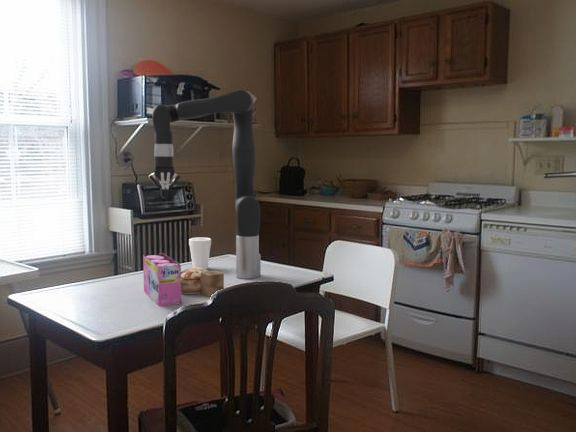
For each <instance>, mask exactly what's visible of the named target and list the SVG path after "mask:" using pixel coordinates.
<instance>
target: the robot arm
mask: <svg viewBox="0 0 576 432" xmlns="http://www.w3.org/2000/svg"><path fill="white" fill-rule="evenodd" d="M253 109H254V99H253V97H252V95H251V94H250V93H249V92H248V91H247V90H245V89H236V90H233V91H231V92H229V93H226V94H221V95H217V96H213V97H208V98H199V99H190V100H185V101H181V102H178V103H175V104H169V105H167V104H161V103H159V104H156V105H155V107H153V109H152V114H151V115H152V119H151V120H152V125H153V129H154V150H153V154H154V155H153V157H154V159H153V160H154V169H153V173H151V174H149V175H148V179H149V181H151V182H152V183H153V185H154V186H155V187H156V188H157V189H160V197H161V199H165V200H167V199H168V198H169V190H170V189H172V188H174V186H175V185H176V183H177V182H178V181H179V180H180V178H181V175H179V174H177V173H176V170H175V168H174V165H175V164H174V144H173V142H174V141H173V140H174V139H173V131H172V130H171V123H174V122H175V123H176V122H178V121H181V120H182V121H184V120H191V119H197V118H201V117H205V116H209V115H213V114H218V113H220V114H221V113H232V117H233V126H234V127H233V137H232V138H233V139H232V162H233V163H232V165H233V173H234V181H235V203H234V208H235V212H236V216H237V217H236V229H235V248H236V249H235V251H236V252H235V255H236V257H235V261H236V262H235V264H236V265H235V267H236V268H235V269H236V270H235V275H236V278H238V279H245V280H246V279H248V280H249V279H257V278H259V277H261V275H262V274H261V270H262V269H261V267H262V266H261V264H262V263H261V262H262V261H261V258H262V257H261V253H259V252H260V251H259V250H260V249H259V248H260V247H259V246H260V242H259V240H260V239H259V238H260V236H259V235H260V234H259V233H260V227H261V206H260V203H259V201H258V200H257V198H256V194H255V189H254V188H255V187H254V181H255V175H256V174H255V173H256V166H257V165H256V163H257V156H256V155H257V154H256V143H255V136H254V129H253ZM172 178H173V179H172ZM156 179H157V180H159V182H158V181H157V180H156ZM171 179H172V180H171ZM170 181H171V182H170Z"/></svg>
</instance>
